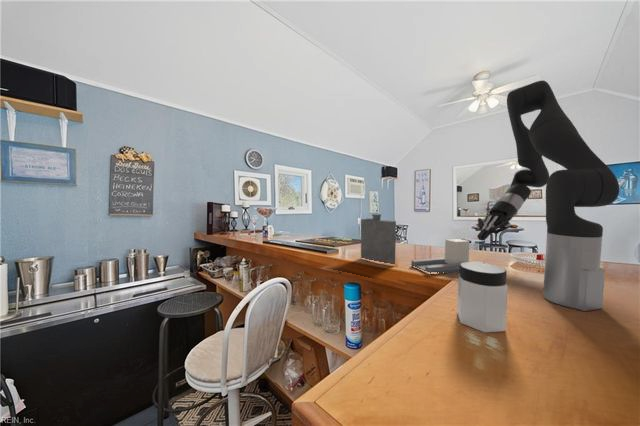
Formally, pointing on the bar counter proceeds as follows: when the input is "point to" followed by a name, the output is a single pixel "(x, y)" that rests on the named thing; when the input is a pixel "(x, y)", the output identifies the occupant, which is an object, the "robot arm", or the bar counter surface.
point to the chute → (436, 265)
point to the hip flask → (378, 239)
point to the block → (456, 251)
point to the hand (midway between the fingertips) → (480, 238)
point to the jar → (482, 296)
